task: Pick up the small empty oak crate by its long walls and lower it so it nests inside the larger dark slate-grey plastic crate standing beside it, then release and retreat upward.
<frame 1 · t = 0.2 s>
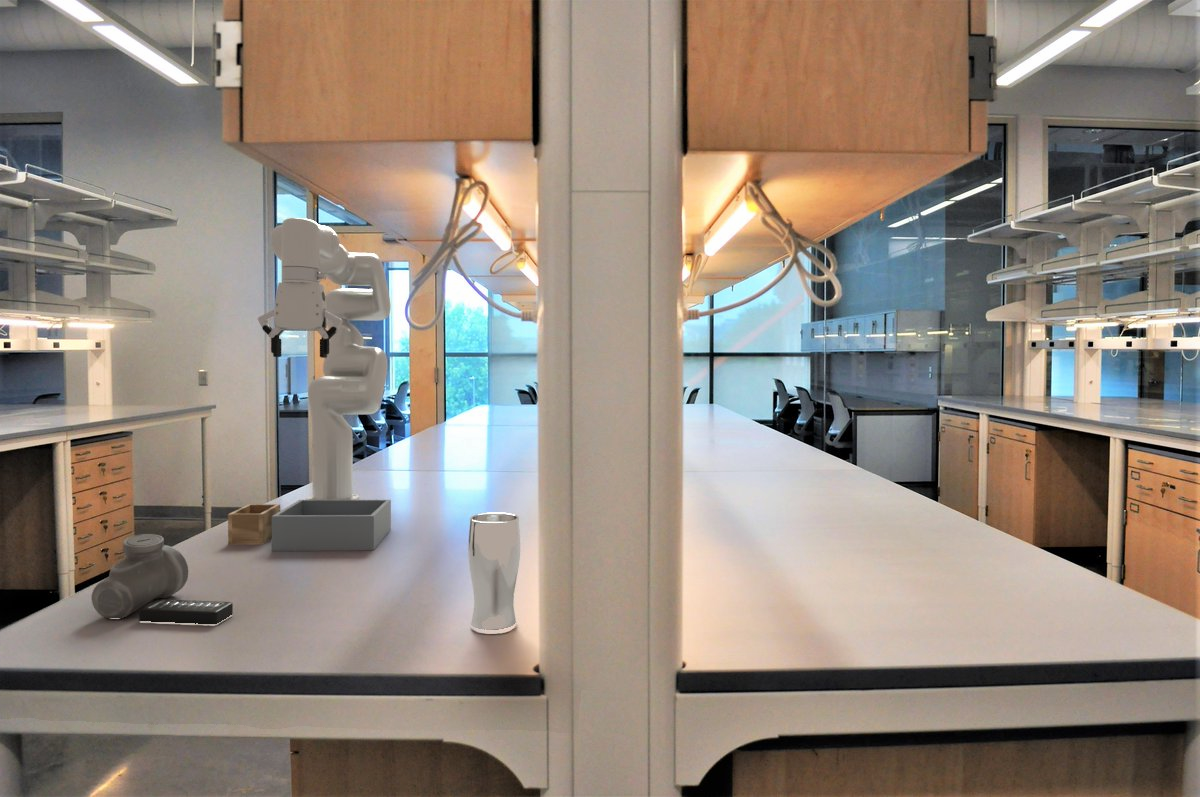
hand: (300, 357, 159), 36 cm above the table, fingers open, 9 cm apart
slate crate: (334, 539, 147), on the table
pipe fitting: (137, 609, 106), on the table
multiport hub: (186, 623, 101), on the table
beer glass: (493, 628, 100), on the table
oak crate: (255, 538, 148), on the table
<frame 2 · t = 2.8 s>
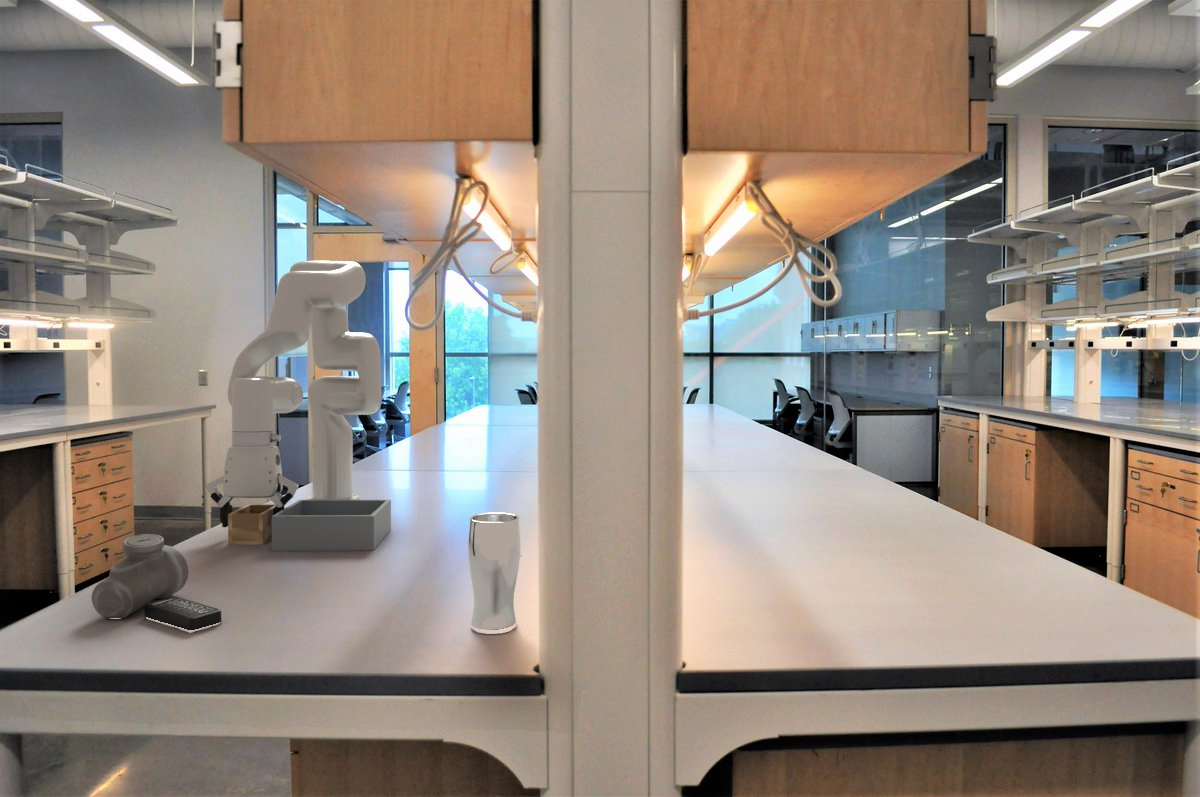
hand: (252, 526, 147), 3 cm above the table, fingers open, 9 cm apart
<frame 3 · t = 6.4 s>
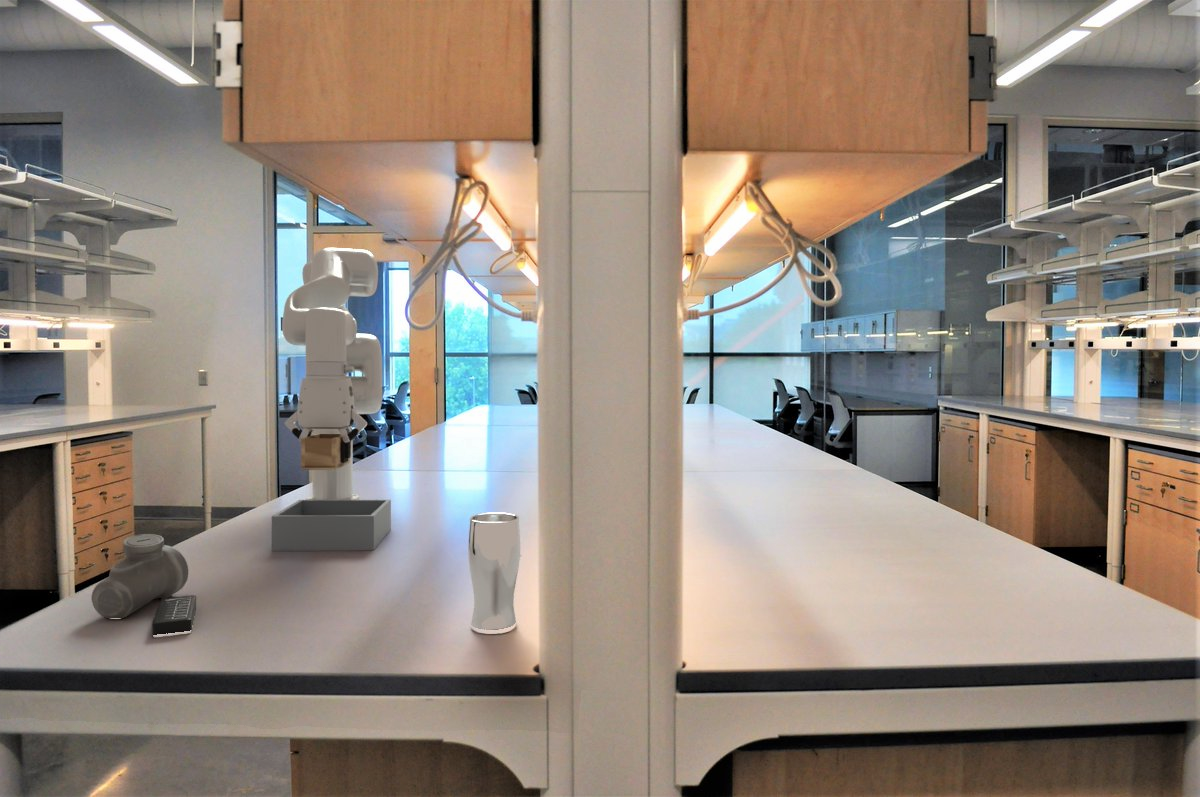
hand: (326, 461, 146), 16 cm above the table, fingers closed on oak crate, 6 cm apart
oak crate: (326, 466, 146), point 15 cm above the table, touching gripper
when the fingers open (3 cm above the table, at t = 9.4 s): oak crate drops 1 cm, resting on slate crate.
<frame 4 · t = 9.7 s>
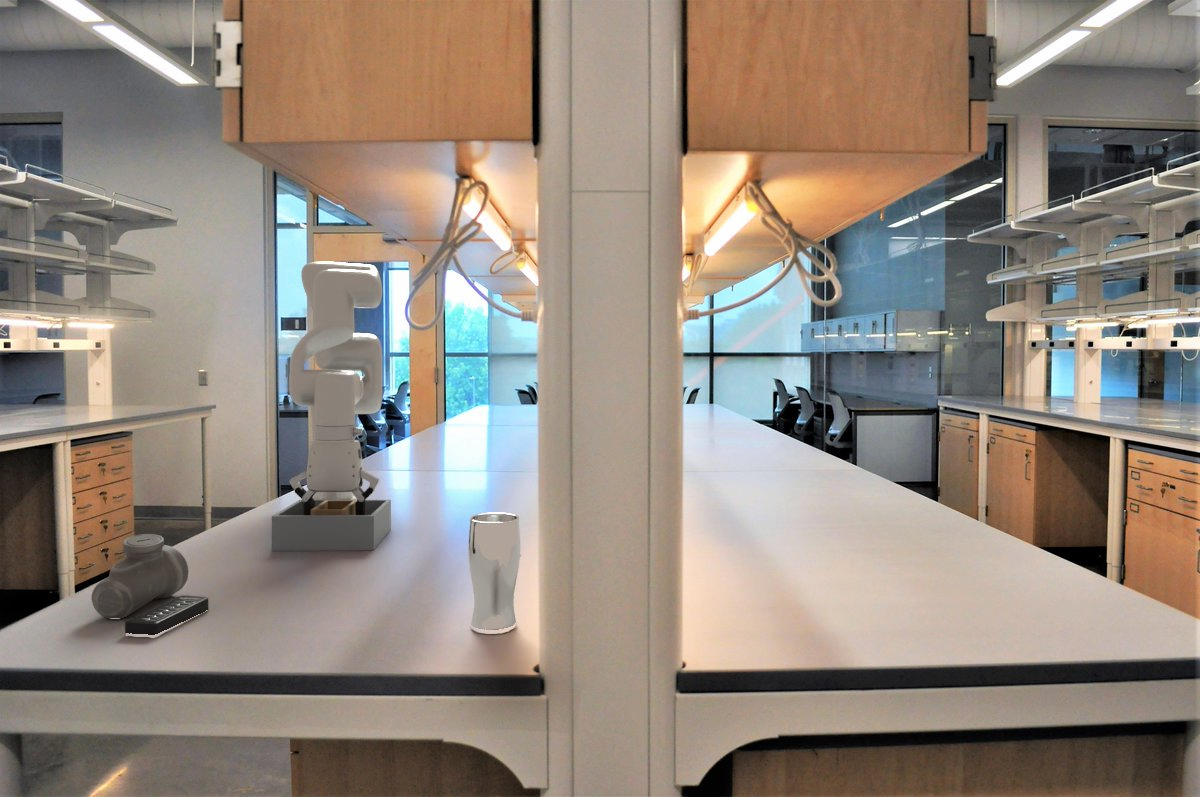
hand: (334, 520, 147), 4 cm above the table, fingers open, 9 cm apart
oak crate: (334, 534, 147), point 1 cm above the table, touching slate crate
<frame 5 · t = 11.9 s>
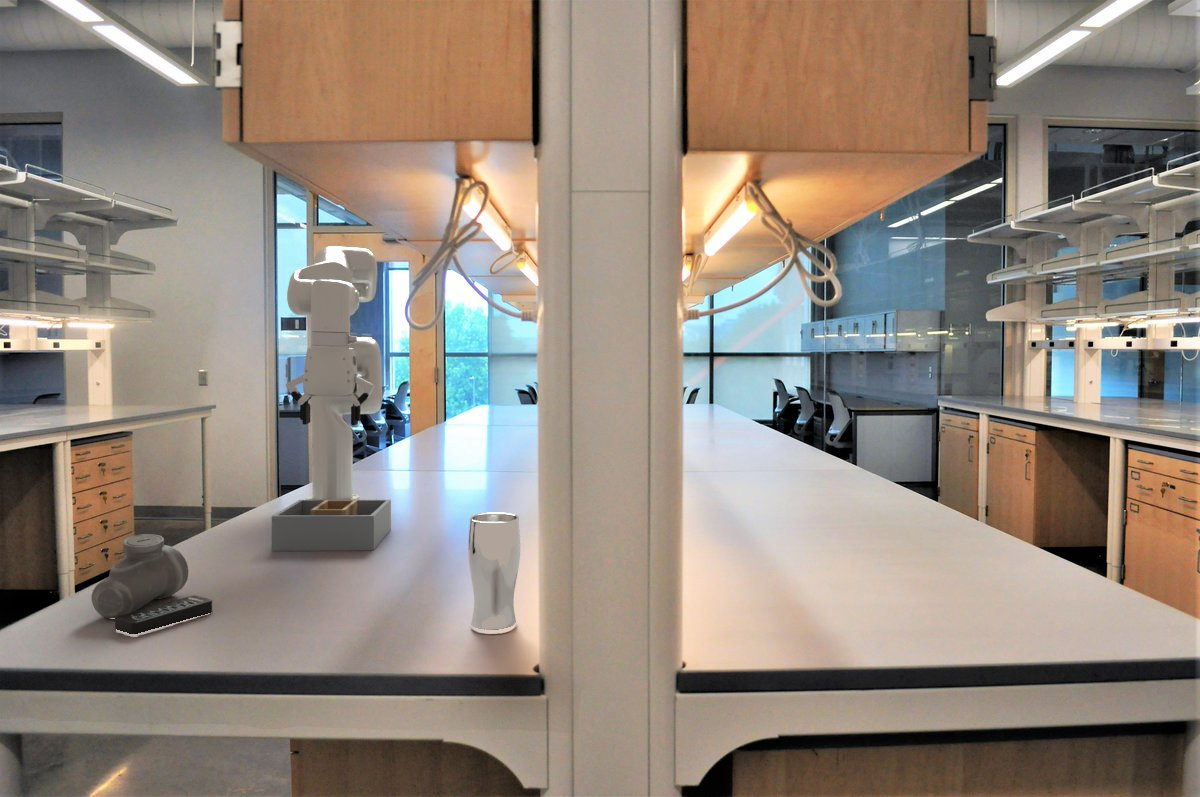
hand: (330, 424, 153), 22 cm above the table, fingers open, 9 cm apart
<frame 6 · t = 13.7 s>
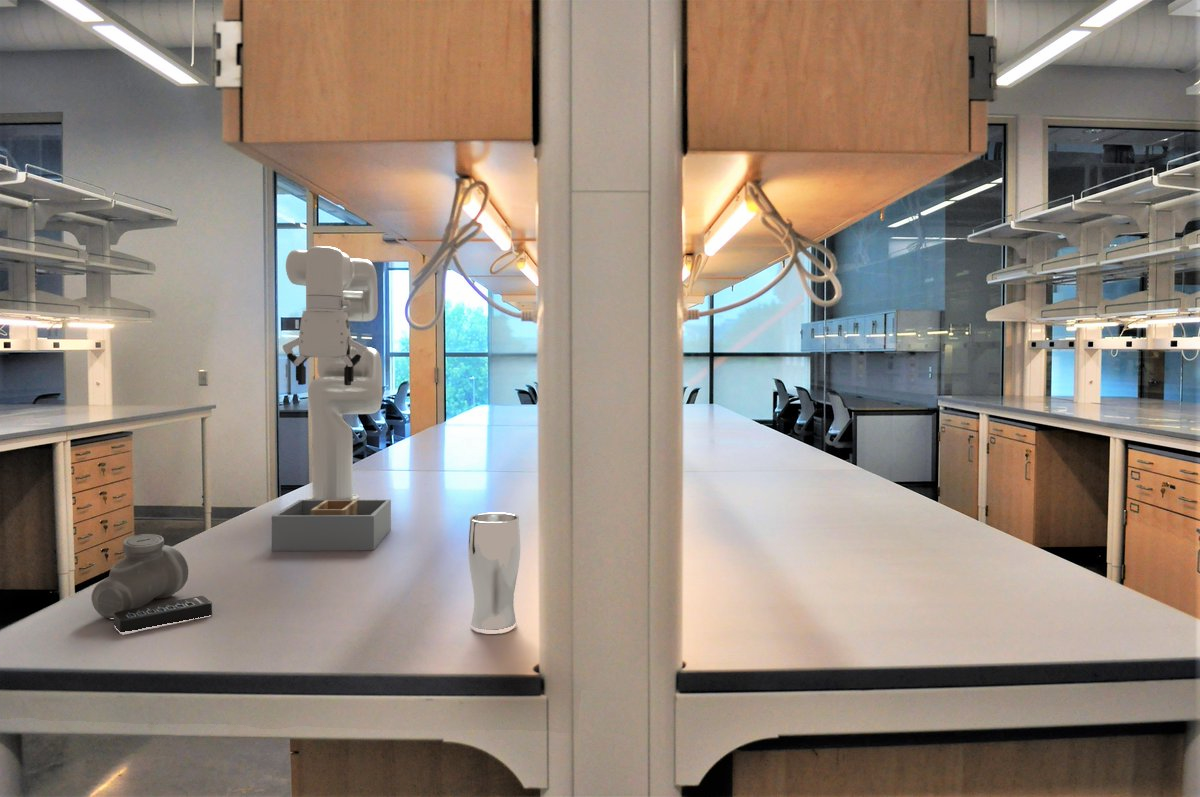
hand: (324, 384, 160), 30 cm above the table, fingers open, 9 cm apart
at the end: oak crate inside the target area on the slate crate (0.1 cm from its centre), point 1.0 cm above the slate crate's base; oak crate tilted 0°; the gripper is holding nothing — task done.
